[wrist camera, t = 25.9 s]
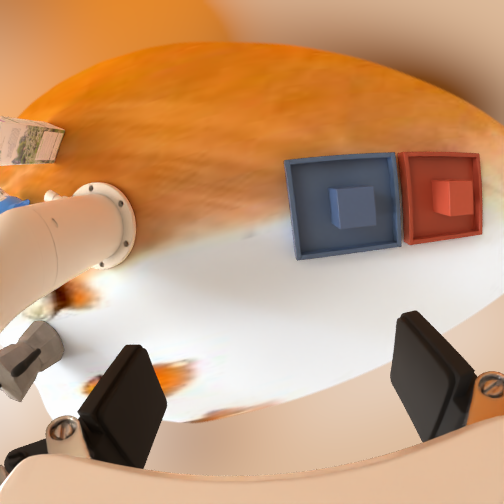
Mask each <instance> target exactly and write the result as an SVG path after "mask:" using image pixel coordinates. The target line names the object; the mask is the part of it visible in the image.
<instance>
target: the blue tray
mask: <svg viewBox="0 0 504 504" xmlns="http://www.w3.org/2000/svg"><path fill="white" fill-rule="evenodd" d="M284 168H285V175H286V183H287V190H288V198H289V206H290V214H291V222H292V231H293V240H294V249H295V257H296V259H297V260H305V259H313V258H320V257H328V256H336V255H343V254H351V253H358V252H365V251H373V250H380V249H387V248H394V247H401V216H400V199H399V186H398V175H397V166H396V157H395V152H391V153H365V154H348V155H334V156H321V157H310V158H300V159H291V160H285V161H284ZM352 185H369V186H374V195H375V208H376V223H377V225H374V226H365V227H357V228H348V229H339V228H338V227H336V226H335V225H334V224H332V223H331V212H330V203H329V193H328V188H330V187H341V186H352Z"/></svg>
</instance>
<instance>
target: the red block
mask: <svg viewBox="0 0 504 504" xmlns="http://www.w3.org/2000/svg"><path fill="white" fill-rule="evenodd" d="M431 182H432V197H433V212H436V213H440V214H443V215H447V216H459V215H469V214H473V186H472V180H460V179H439V180H431Z"/></svg>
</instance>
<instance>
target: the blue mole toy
mask: <svg viewBox="0 0 504 504" xmlns="http://www.w3.org/2000/svg"><path fill="white" fill-rule="evenodd" d="M29 204H30V200H28V199H26V200H24V201H22V200H20V199H19V198H17V197H14V196H9V195H8V194H7V193H6V192H4V191H3V190H2V189H1V188H0V214H1V213H3V212H5V211H7V210H10V209H13V208H17V207H22V206H26V205H29Z"/></svg>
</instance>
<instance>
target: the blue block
mask: <svg viewBox="0 0 504 504" xmlns="http://www.w3.org/2000/svg"><path fill="white" fill-rule="evenodd" d="M328 193H329V203H330V212H331V223H332V224H334V225H335V226H336V227H338V228H339V229H348V228H357V227H365V226H374V225H377V223H376V208H375V195H374V186H369V185H352V186H341V187H330V188H328Z"/></svg>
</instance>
